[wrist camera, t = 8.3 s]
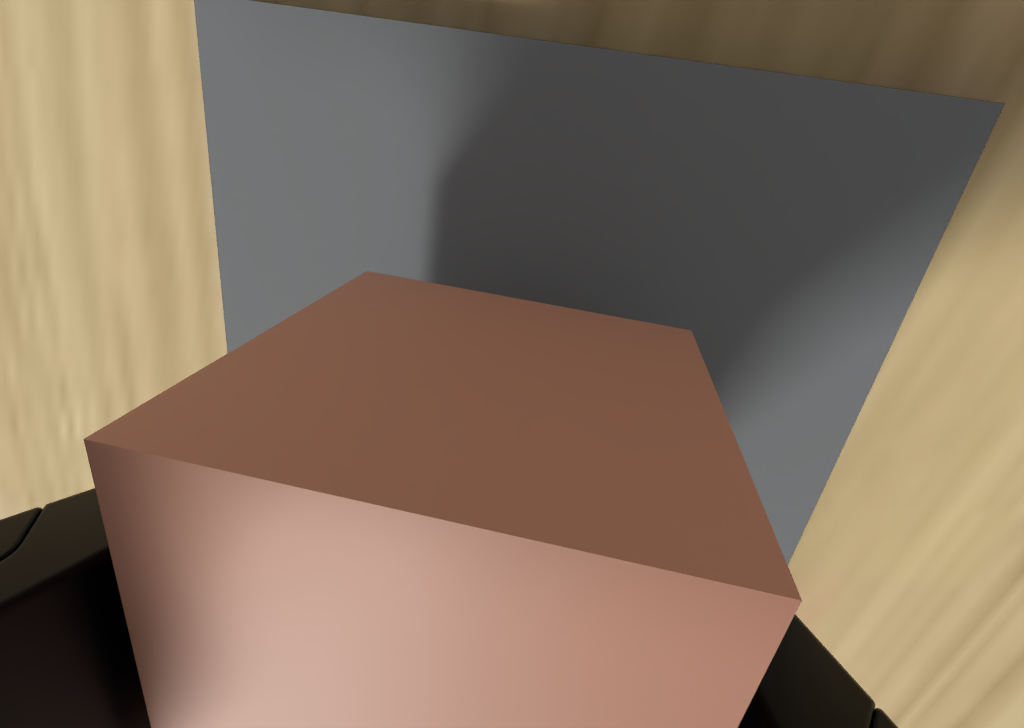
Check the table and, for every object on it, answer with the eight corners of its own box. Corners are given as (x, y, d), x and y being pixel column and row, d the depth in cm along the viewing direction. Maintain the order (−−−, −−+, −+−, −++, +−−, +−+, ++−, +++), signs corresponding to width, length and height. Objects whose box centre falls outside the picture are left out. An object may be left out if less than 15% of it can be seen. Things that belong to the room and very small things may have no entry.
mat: (986, 104, 8) (1004, 103, 7) (730, 661, 13) (734, 677, 12) (210, -3, 9) (192, -8, 8) (257, 550, 14) (247, 561, 13)
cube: (691, 330, 8) (801, 600, 3) (617, 579, 10) (623, 951, 5) (367, 271, 8) (83, 439, 4) (360, 521, 10) (173, 818, 6)
